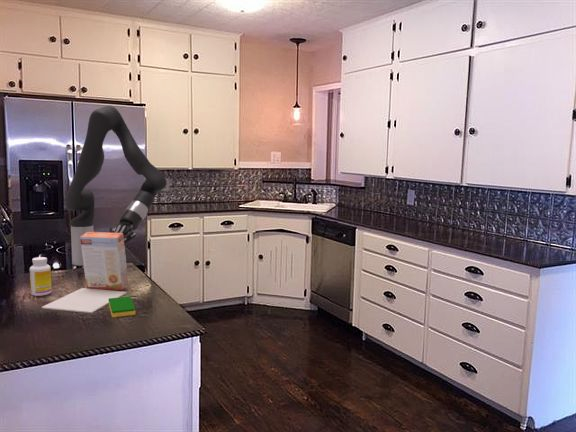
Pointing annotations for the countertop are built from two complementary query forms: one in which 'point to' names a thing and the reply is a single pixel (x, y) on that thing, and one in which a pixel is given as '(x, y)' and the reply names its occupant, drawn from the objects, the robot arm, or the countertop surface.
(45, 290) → the supplement bottle
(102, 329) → the countertop surface
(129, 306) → the dish sponge
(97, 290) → the mat
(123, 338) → the countertop surface
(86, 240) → the cracker box
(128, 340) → the countertop surface
